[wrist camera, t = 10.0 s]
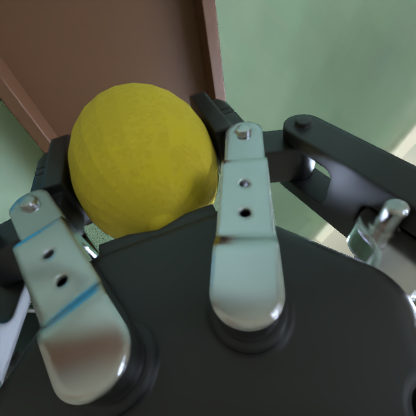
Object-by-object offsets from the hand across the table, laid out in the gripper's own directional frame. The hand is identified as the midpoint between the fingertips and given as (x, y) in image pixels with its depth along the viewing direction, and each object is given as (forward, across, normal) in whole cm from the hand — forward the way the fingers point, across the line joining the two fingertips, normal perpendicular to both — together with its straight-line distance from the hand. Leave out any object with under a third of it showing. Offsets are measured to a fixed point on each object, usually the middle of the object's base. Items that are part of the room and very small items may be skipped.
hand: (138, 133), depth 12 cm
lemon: (+2, 0, 0) cm, 2 cm away
